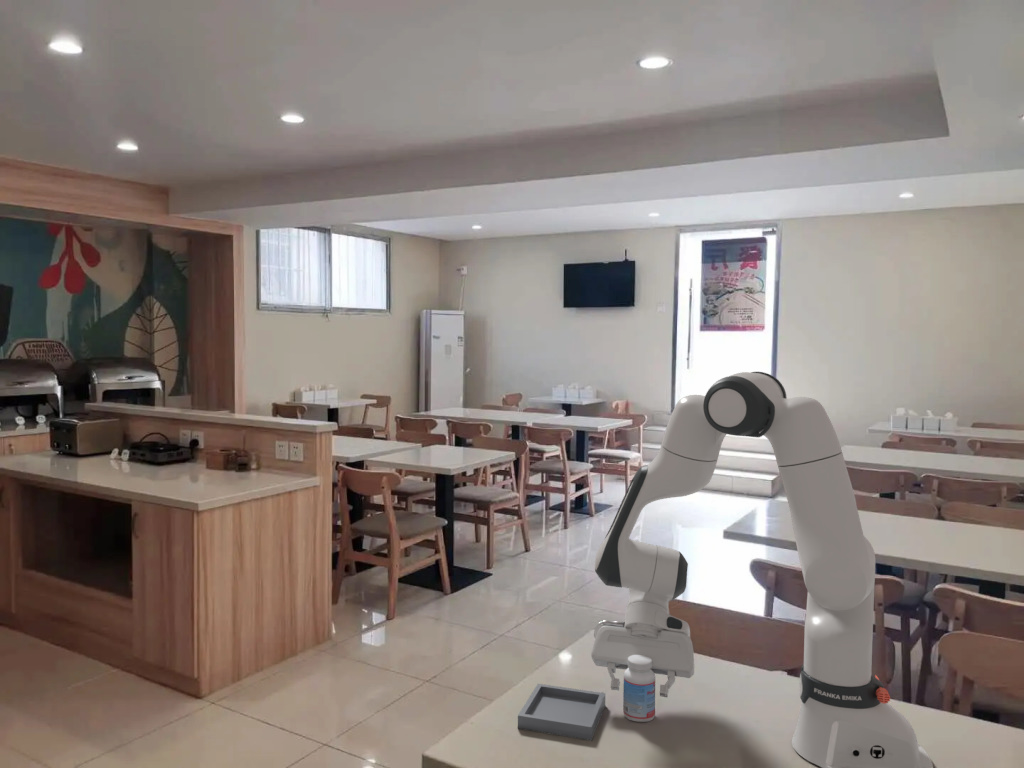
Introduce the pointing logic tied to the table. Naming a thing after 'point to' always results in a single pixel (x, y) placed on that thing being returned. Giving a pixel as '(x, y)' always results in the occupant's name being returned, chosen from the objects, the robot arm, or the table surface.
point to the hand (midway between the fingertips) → (638, 692)
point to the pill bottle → (639, 689)
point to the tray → (562, 711)
